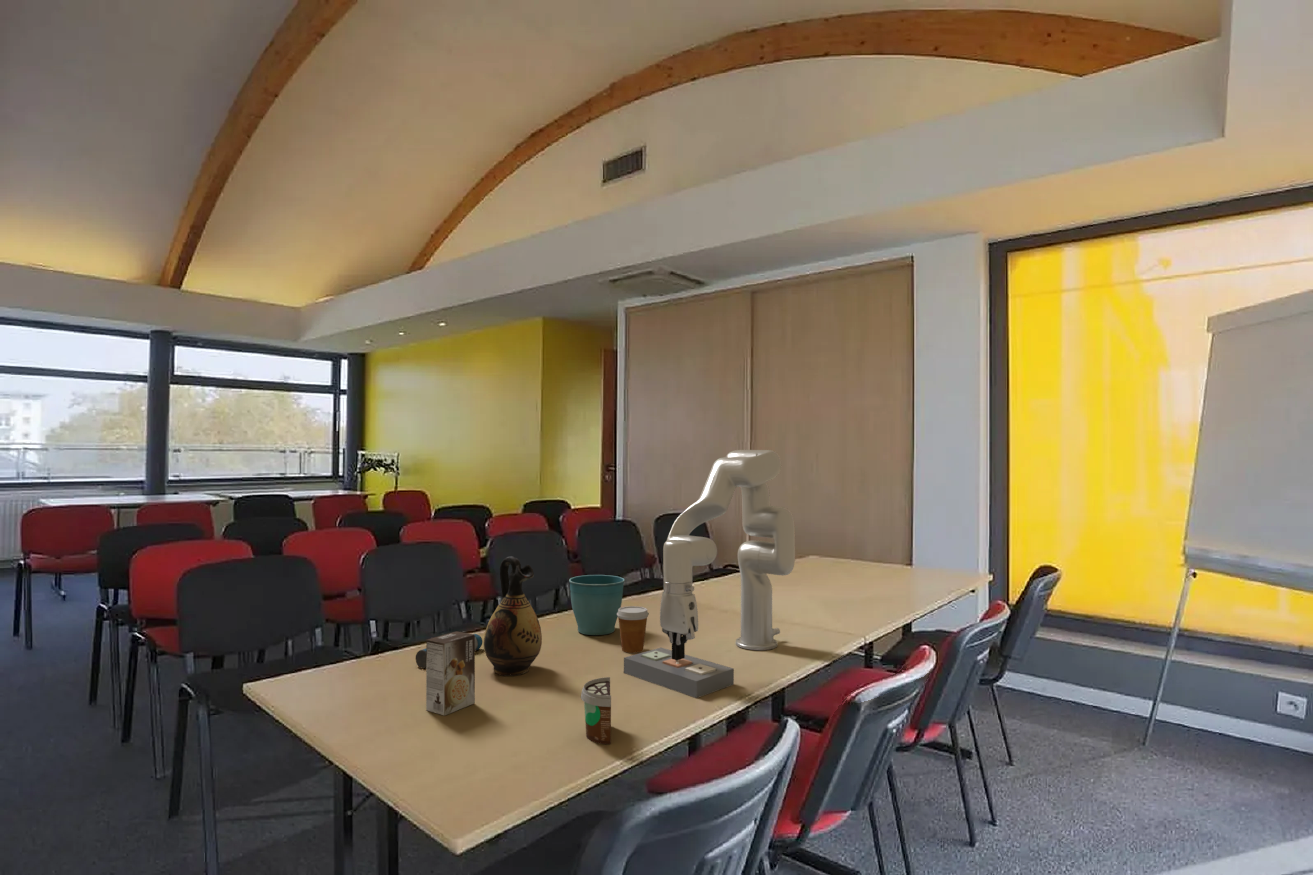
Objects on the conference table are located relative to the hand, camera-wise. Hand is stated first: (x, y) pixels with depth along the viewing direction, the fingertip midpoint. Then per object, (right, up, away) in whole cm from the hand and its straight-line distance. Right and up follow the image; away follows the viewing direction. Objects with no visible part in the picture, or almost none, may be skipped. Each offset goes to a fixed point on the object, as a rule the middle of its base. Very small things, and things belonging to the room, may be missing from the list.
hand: (678, 658), depth 178 cm
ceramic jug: (-45, -5, +6) cm, 45 cm away
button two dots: (-6, -4, +5) cm, 9 cm away
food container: (-18, -4, -36) cm, 41 cm away
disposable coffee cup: (-13, -6, +25) cm, 29 cm away
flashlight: (-64, -6, +17) cm, 66 cm away
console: (0, -5, 0) cm, 5 cm away
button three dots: (0, -4, 0) cm, 4 cm away
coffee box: (-53, -5, -21) cm, 57 cm away
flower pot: (-25, -6, +47) cm, 53 cm away
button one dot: (+5, -4, -6) cm, 9 cm away
